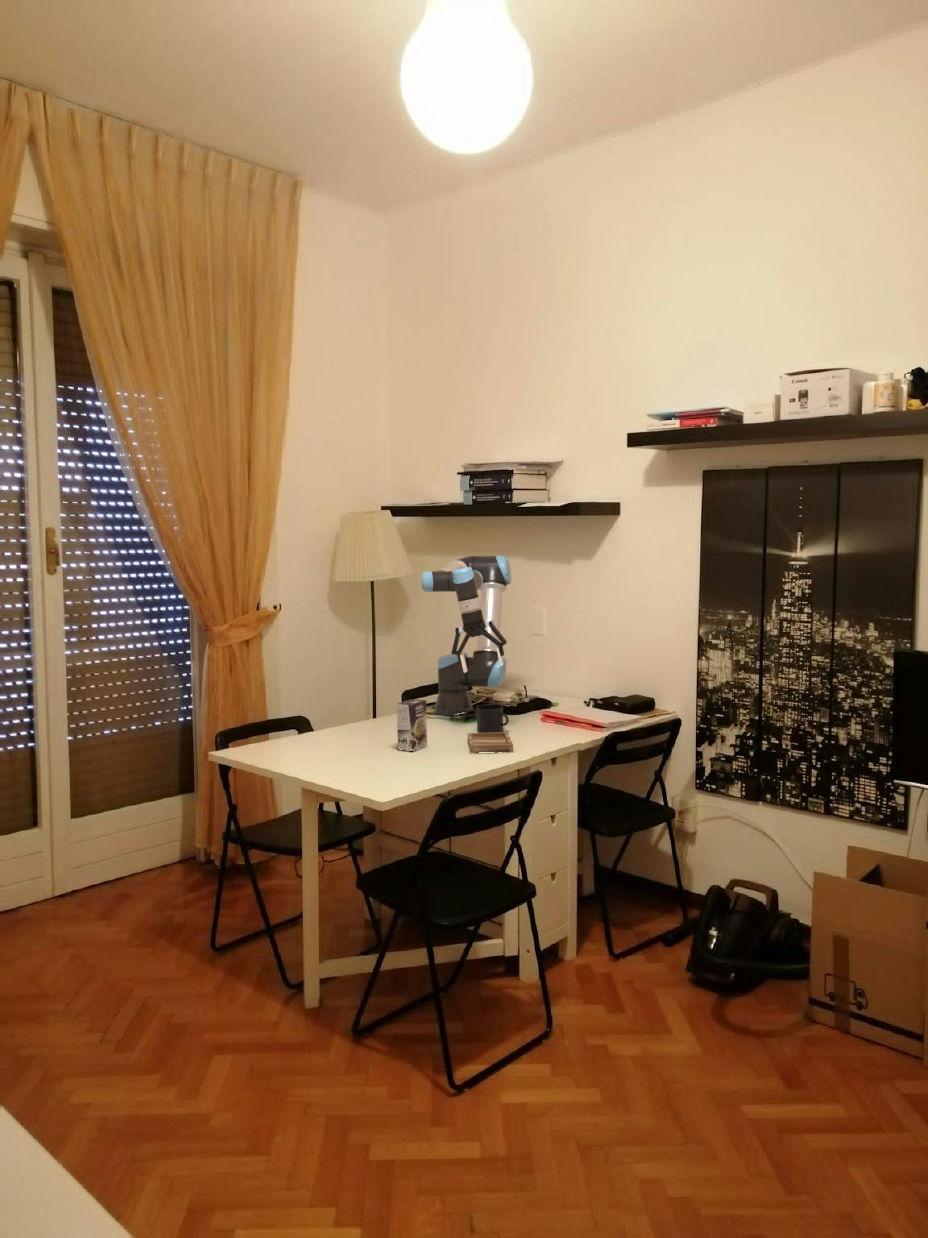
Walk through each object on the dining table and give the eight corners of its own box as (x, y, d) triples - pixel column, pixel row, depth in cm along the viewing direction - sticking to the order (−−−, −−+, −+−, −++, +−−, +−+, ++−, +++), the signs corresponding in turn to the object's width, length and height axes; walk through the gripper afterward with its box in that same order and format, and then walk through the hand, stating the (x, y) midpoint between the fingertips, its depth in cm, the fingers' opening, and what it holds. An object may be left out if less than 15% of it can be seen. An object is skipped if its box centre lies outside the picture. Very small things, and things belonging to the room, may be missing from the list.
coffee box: (413, 752, 301) (411, 705, 299) (397, 750, 304) (395, 703, 302) (428, 746, 309) (426, 699, 307) (412, 744, 312) (411, 698, 310)
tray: (467, 740, 315) (467, 733, 315) (507, 739, 316) (507, 731, 316) (470, 754, 297) (470, 746, 297) (513, 752, 298) (513, 744, 298)
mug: (503, 736, 321) (502, 710, 320) (472, 733, 326) (472, 708, 325) (513, 730, 329) (513, 705, 328) (484, 727, 335) (483, 703, 334)
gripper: (435, 619, 322) (448, 676, 324) (502, 605, 316) (515, 664, 318) (440, 615, 329) (453, 672, 331) (506, 602, 323) (519, 660, 325)
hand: (483, 668), depth 324 cm, fingers open, 13 cm apart
